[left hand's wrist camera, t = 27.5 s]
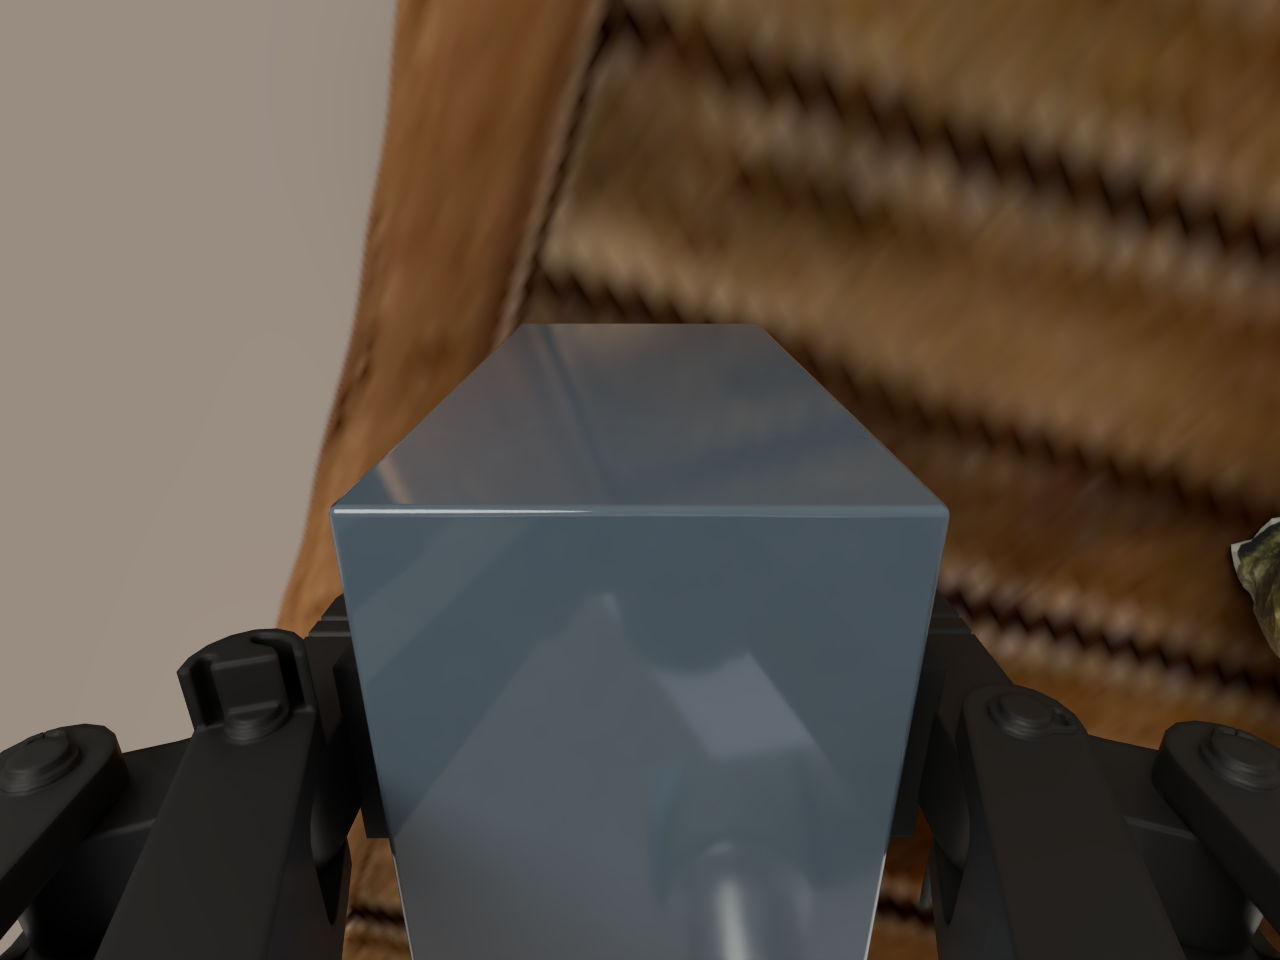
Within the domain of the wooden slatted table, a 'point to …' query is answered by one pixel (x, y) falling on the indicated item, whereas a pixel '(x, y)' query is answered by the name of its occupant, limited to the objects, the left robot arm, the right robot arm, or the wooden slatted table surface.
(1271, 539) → the fossil
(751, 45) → the wooden slatted table surface
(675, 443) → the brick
